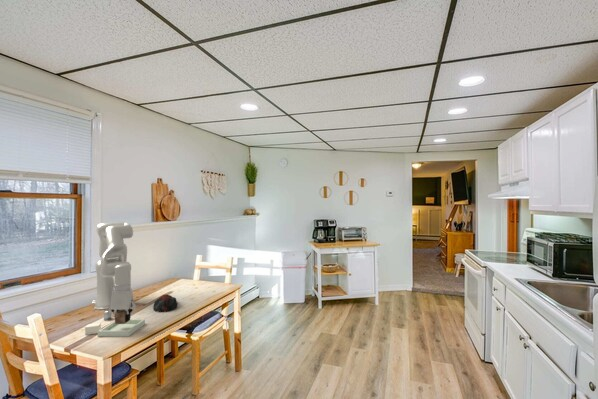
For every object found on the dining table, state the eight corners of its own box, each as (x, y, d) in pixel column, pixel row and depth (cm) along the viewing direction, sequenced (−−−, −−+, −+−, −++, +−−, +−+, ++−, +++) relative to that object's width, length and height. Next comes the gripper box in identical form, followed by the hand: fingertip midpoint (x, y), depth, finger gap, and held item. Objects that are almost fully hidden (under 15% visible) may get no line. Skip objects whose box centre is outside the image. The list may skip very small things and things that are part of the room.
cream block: (85, 335, 155) (85, 327, 155) (87, 331, 158) (87, 324, 158) (98, 333, 157) (98, 325, 157) (100, 330, 160) (100, 322, 160)
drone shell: (167, 313, 185) (167, 300, 185) (141, 311, 190) (141, 298, 190) (188, 302, 205) (188, 291, 205) (164, 300, 210) (164, 289, 210)
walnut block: (115, 324, 158) (115, 312, 158) (120, 320, 163) (120, 309, 163) (124, 323, 158) (124, 312, 158) (129, 320, 163) (129, 309, 163)
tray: (97, 336, 152) (97, 331, 152) (117, 323, 168) (117, 319, 168) (128, 336, 152) (128, 331, 152) (145, 323, 168) (145, 319, 168)
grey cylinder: (102, 320, 173) (102, 312, 174) (106, 318, 177) (106, 309, 178) (108, 320, 173) (108, 312, 174) (113, 318, 177) (113, 309, 178)
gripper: (102, 289, 157) (102, 324, 157) (134, 289, 157) (134, 323, 156) (111, 285, 165) (111, 318, 164) (142, 285, 164) (141, 318, 164)
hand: (122, 320), depth 160 cm, fingers closed on walnut block, 5 cm apart
